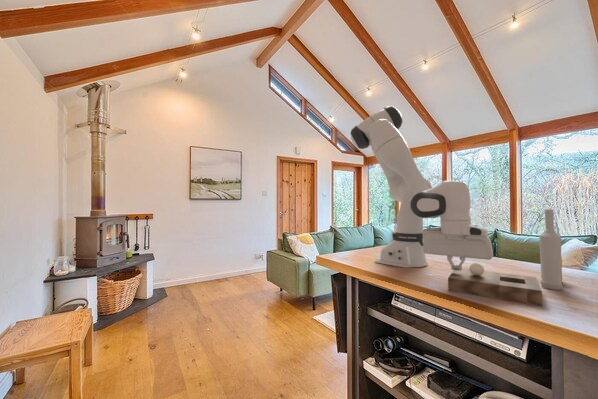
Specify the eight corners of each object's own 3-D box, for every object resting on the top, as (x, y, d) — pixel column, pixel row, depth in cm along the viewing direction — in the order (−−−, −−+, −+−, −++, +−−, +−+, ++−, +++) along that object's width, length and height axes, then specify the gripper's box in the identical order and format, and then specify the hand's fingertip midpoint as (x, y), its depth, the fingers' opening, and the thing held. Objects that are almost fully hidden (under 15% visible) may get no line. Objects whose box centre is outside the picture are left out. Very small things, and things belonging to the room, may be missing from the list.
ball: (468, 276, 86) (468, 263, 86) (470, 273, 90) (469, 261, 90) (483, 277, 84) (483, 265, 84) (484, 275, 87) (484, 262, 87)
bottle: (562, 287, 86) (560, 209, 87) (562, 291, 83) (560, 209, 83) (541, 284, 90) (538, 209, 90) (540, 287, 86) (537, 209, 87)
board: (448, 290, 85) (448, 277, 85) (455, 278, 97) (455, 267, 97) (542, 305, 71) (541, 290, 71) (536, 290, 84) (536, 277, 84)
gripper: (420, 227, 94) (420, 267, 94) (491, 230, 82) (492, 276, 81) (424, 226, 99) (425, 264, 99) (492, 229, 87) (493, 272, 86)
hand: (456, 269), depth 90 cm, fingers closed
